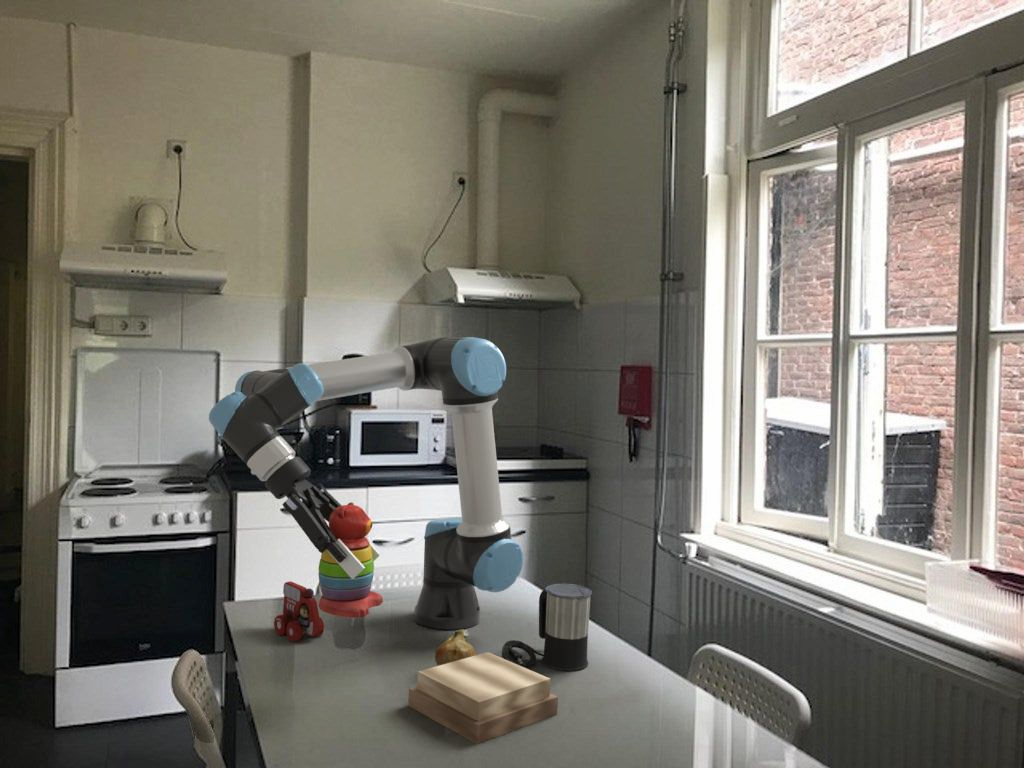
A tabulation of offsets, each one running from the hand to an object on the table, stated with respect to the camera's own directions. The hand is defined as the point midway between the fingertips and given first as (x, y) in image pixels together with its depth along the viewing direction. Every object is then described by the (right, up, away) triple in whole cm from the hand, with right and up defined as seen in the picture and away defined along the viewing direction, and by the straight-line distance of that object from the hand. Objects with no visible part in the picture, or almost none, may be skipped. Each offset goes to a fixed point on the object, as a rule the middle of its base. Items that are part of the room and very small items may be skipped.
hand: (367, 566), depth 142 cm
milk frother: (+31, -24, +22) cm, 46 cm away
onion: (+14, -24, +15) cm, 32 cm away
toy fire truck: (-20, -22, +33) cm, 44 cm away
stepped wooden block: (+20, -24, -1) cm, 31 cm away
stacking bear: (-4, -7, +1) cm, 8 cm away
